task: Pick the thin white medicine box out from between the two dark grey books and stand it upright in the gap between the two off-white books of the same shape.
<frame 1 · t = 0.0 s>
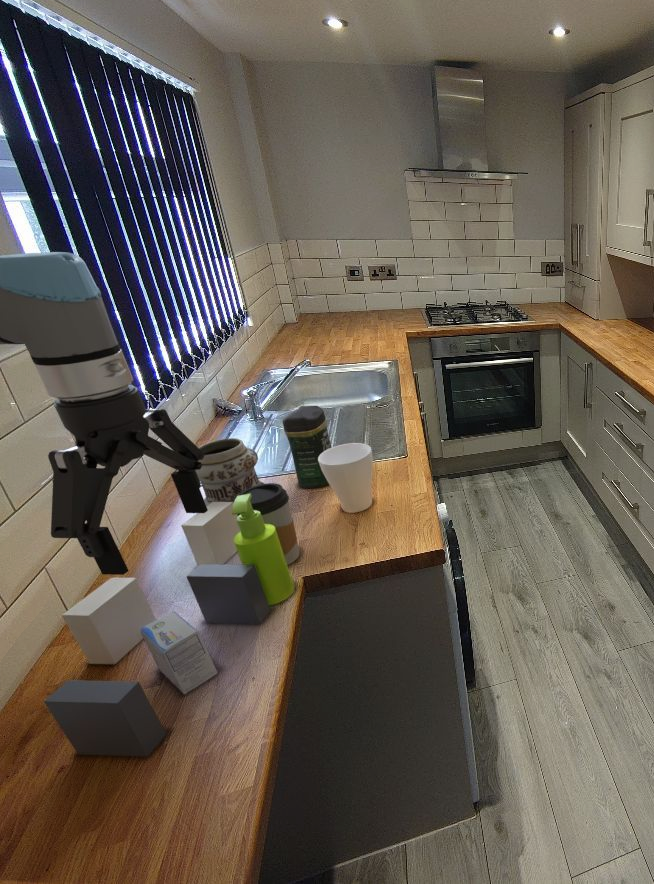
hand: (160, 539, 71), 21 cm above the countertop, tool pointing down, fingers open, 13 cm apart
coffee cup: (281, 561, 100), on the countertop
soap dispenser: (276, 598, 91), on the countertop
grey book near: (124, 746, 66), on the countertop
cup: (358, 508, 117), on the countertop
white book left: (126, 645, 81), on the countertop
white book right: (224, 556, 101), on the countertop
medicine box: (190, 675, 76), on the countertop
apothecary jar: (245, 522, 113), on the countertop
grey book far: (239, 619, 86), on the countertop
coffee jar: (320, 480, 129), on the countertop
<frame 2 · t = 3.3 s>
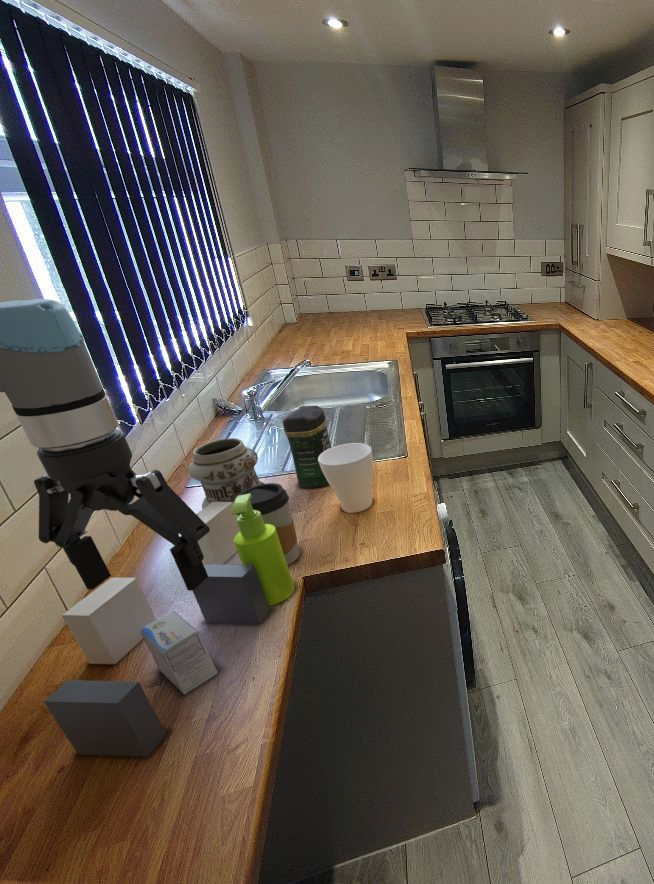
hand: (148, 583, 69), 17 cm above the countertop, tool pointing down, fingers open, 13 cm apart
nothing on the countertop moved.
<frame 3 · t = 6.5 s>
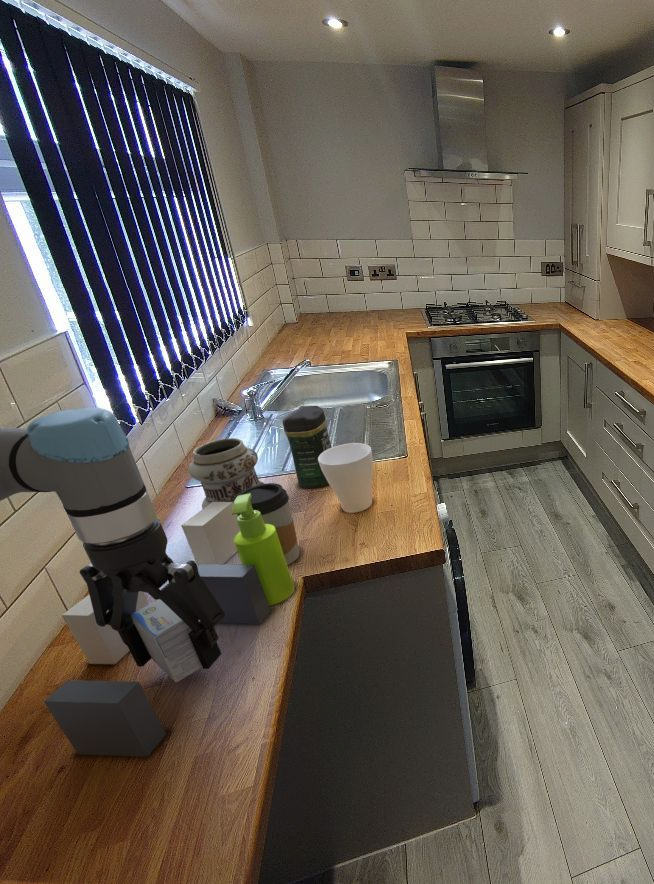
hand: (180, 659, 75), 3 cm above the countertop, tool pointing down, fingers closed on medicine box, 9 cm apart
medicine box: (181, 662, 75), point 2 cm above the countertop, touching gripper
everything else where it was.
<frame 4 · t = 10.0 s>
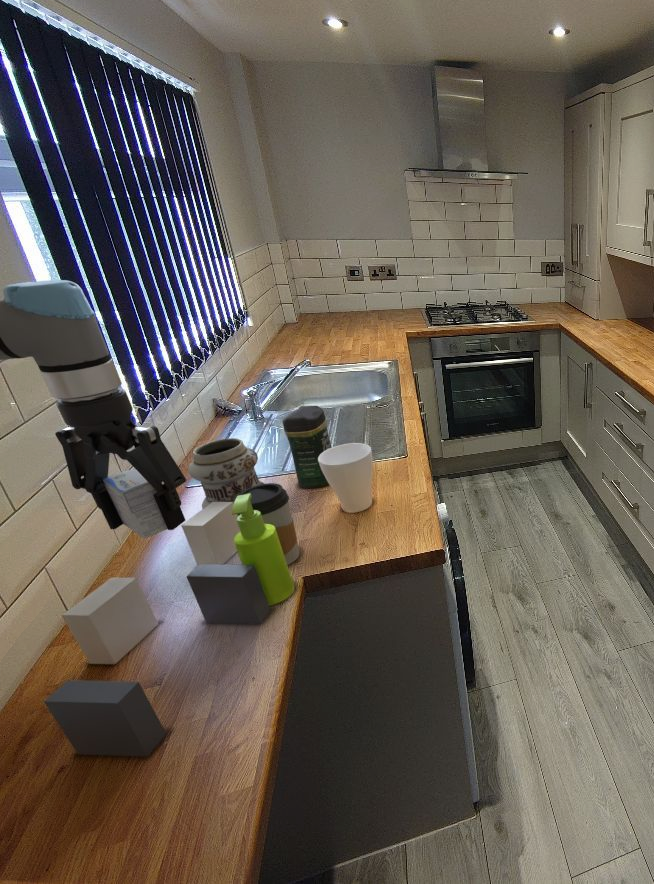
hand: (148, 524, 84), 15 cm above the countertop, tool pointing down, fingers closed on medicine box, 9 cm apart
medicine box: (149, 527, 85), point 15 cm above the countertop, touching gripper
everything else where it was.
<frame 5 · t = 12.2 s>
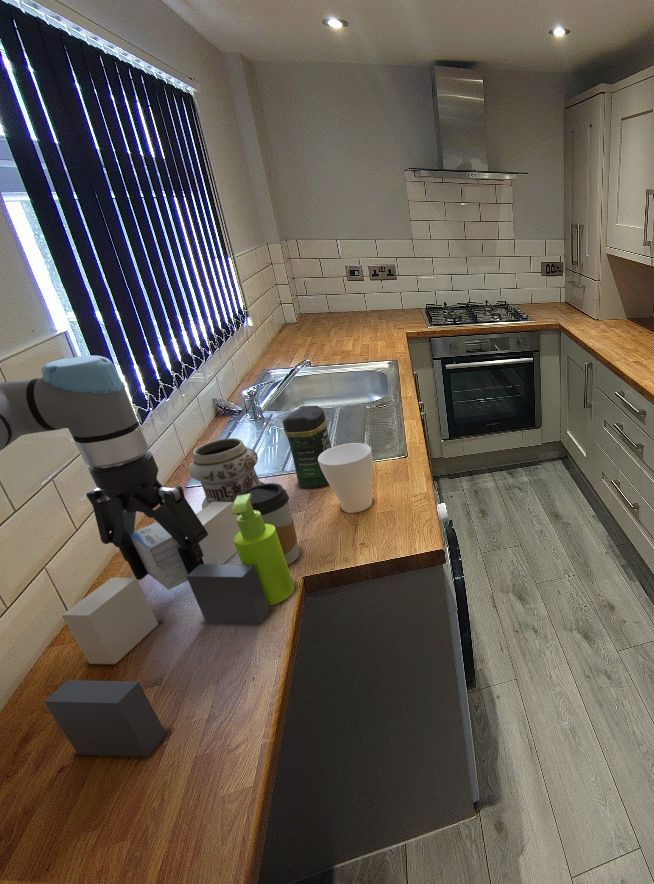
hand: (172, 574, 90), 5 cm above the countertop, tool pointing down, fingers closed on medicine box, 9 cm apart
medicine box: (173, 576, 90), point 4 cm above the countertop, touching gripper
everything else where it was.
when the fingers open (0 cm above the countertop, at t = 13.8 s): medicine box stays where it is, on the countertop.
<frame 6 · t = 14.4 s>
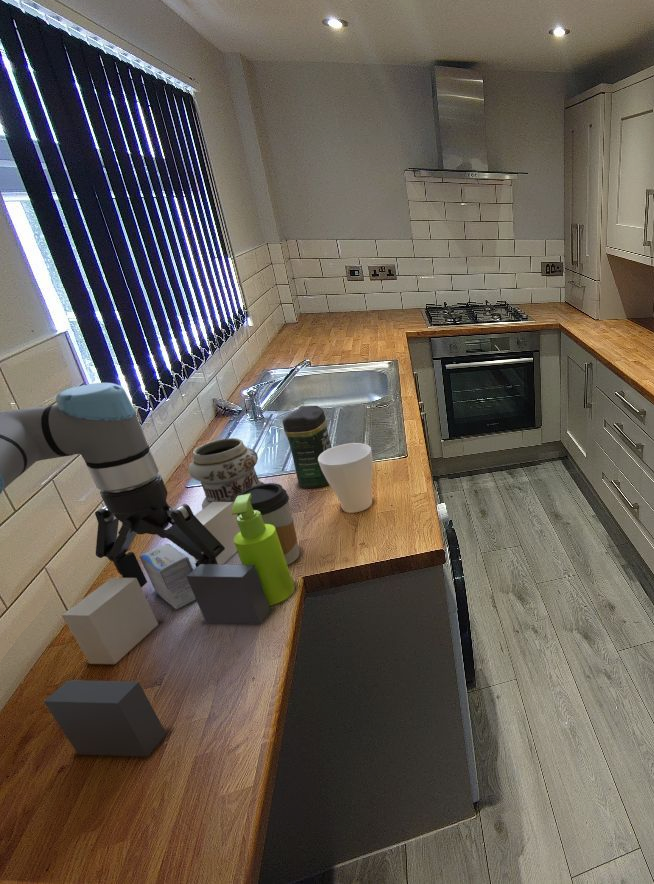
hand: (177, 588, 91), 2 cm above the countertop, tool pointing down, fingers open, 13 cm apart
medicine box: (181, 597, 92), on the countertop
everything else where it was.
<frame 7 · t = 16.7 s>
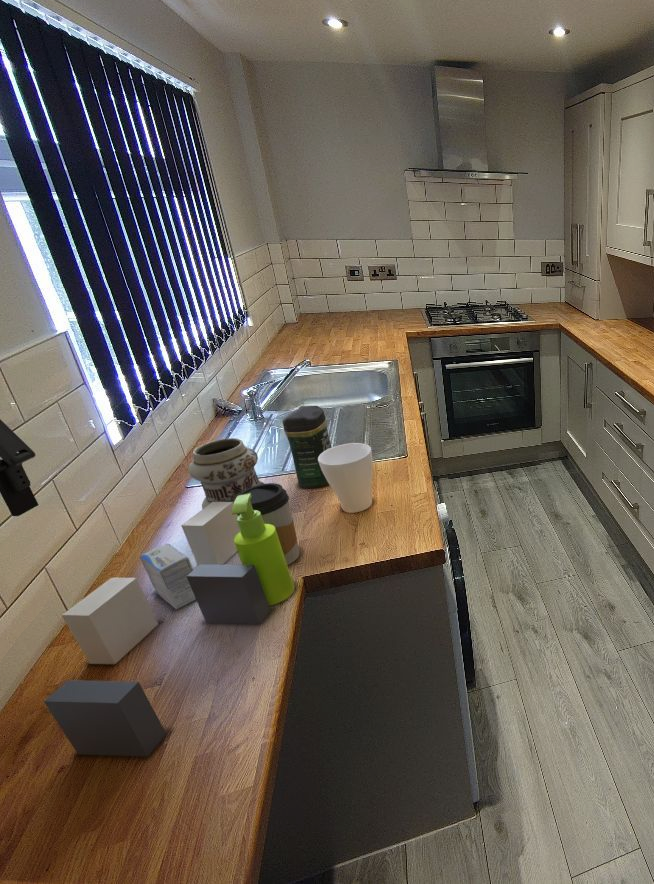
nothing on the countertop moved.
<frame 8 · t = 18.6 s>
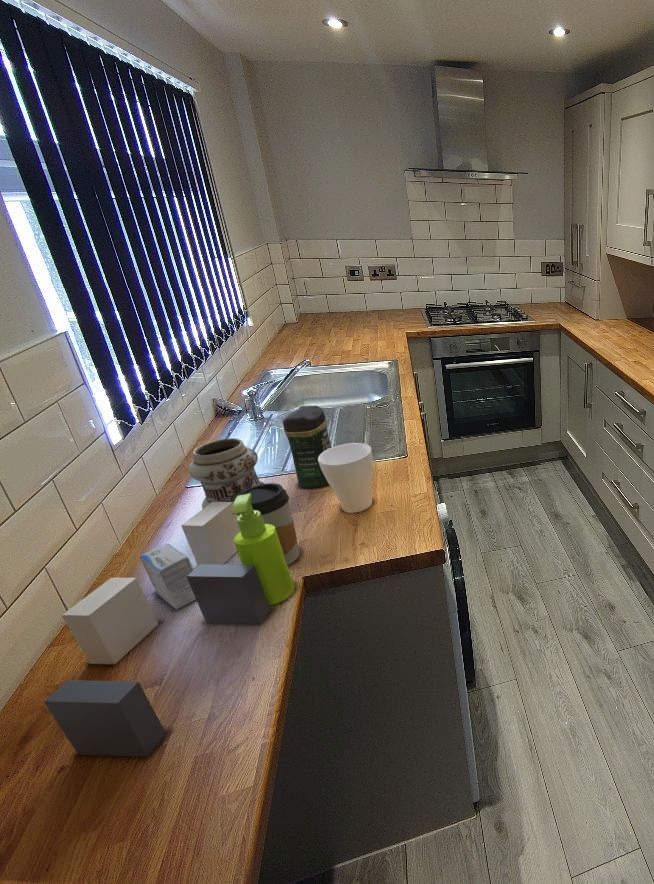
nothing on the countertop moved.
at the end: medicine box 0.0 cm from the target spot on the countertop beside the white book left, on the countertop; medicine box 11.0 cm from the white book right (horizontally); medicine box tilted 0° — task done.
